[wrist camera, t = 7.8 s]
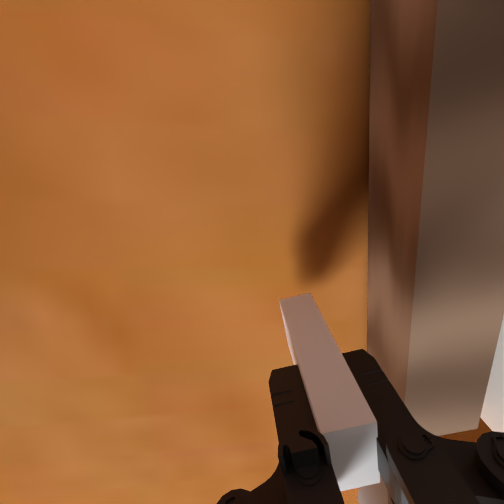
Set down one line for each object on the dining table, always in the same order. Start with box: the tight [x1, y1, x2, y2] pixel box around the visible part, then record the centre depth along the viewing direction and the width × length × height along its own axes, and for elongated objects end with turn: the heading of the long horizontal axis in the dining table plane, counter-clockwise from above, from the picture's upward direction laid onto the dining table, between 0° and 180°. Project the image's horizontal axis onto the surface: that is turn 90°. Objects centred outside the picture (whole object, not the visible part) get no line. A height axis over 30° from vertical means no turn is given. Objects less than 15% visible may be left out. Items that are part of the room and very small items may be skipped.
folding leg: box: [367, 0, 504, 436], centre depth 12 cm, size 22×4×5 cm, turn 8°
